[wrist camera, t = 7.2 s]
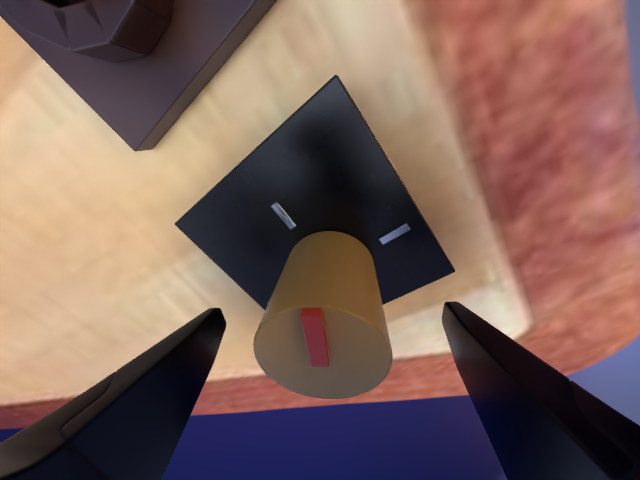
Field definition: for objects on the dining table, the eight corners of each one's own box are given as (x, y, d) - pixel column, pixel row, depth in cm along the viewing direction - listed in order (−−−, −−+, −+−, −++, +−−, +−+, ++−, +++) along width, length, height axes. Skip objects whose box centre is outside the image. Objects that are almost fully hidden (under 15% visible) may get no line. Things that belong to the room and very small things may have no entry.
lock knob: (374, 301, 12) (393, 412, 8) (295, 303, 13) (266, 406, 8) (373, 227, 10) (397, 313, 6) (280, 233, 11) (231, 315, 6)
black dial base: (338, 86, 11) (336, 72, 8) (440, 252, 14) (464, 285, 11) (205, 205, 14) (171, 225, 11) (312, 316, 17) (306, 353, 15)
